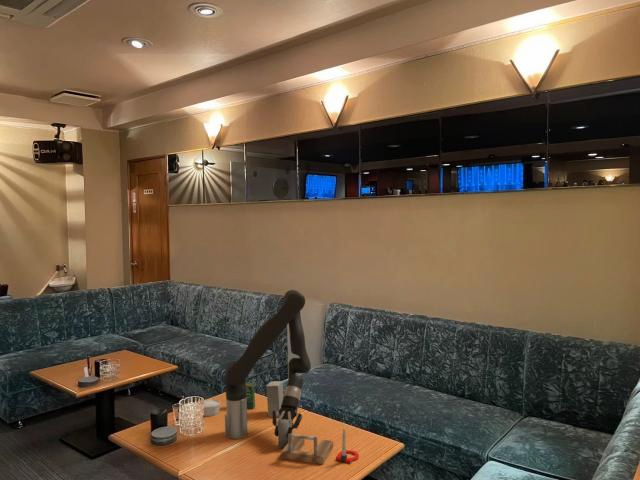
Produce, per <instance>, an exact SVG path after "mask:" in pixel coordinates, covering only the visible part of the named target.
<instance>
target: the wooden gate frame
mask: <svg viewBox="0 0 640 480" xmlns="http://www.w3.org/2000/svg"><path fill="white" fill-rule="evenodd" d="M305 440H309V441H313V452H309V451H301V450H302V449H303V447H304V446H305ZM333 449H334V440H328V439H321V440H320V441H319V444H318V436H311V435H304V434H294V433H292V434H288V444H287V445H286V446H285V447H284V449H281V460H283V459H284V460H291V461H297V462H303V463H304V462H305V463H312V464H321V465H324V464H325V463H326V461H327V459H328V458H329V456H330V454H331V452H332V451H333Z"/></svg>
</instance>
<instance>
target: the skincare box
mask: <svg viewBox="0 0 640 480" xmlns="http://www.w3.org/2000/svg"><path fill="white" fill-rule="evenodd" d="M283 385H284V384H283V381H281V380H278V381H275V380H274V381H272V380H271V381H270V382H268V384H266V386H265V387H266V388H265V389H266V400H267V401H266V402H267V403H266V404H267V417H270V418H271V417H272V418H273V411H275V412H276V411H279V410H280V408H281V404H282V400H283V396H284V389H283V387H284V386H283ZM279 417H280V415H279V414H278V417H277V418H279Z"/></svg>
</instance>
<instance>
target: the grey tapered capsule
mask: <svg viewBox="0 0 640 480" xmlns="http://www.w3.org/2000/svg"><path fill="white" fill-rule="evenodd" d="M277 421H278V437H277V438H278V439H277V440H278V441H277V443H278V448H279V450H280V449H281V450H283V449H284V447H285V446H286V445H287V444H288V438H287V432H288V428H289V420H288V419H280V420H278V419H277Z"/></svg>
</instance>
